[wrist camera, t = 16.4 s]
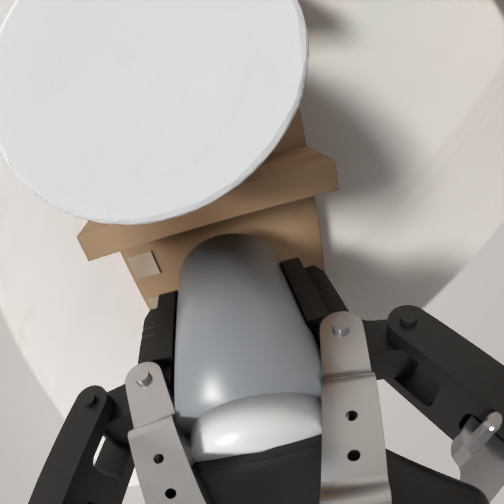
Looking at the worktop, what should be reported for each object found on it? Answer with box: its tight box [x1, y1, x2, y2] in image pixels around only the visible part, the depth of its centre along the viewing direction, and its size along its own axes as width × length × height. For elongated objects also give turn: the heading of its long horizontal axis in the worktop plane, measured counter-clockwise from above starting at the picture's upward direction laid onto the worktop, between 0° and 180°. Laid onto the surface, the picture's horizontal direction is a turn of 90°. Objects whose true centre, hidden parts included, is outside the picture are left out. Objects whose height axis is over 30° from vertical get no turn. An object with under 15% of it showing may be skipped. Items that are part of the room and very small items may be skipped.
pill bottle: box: [0, 0, 309, 225], centre depth 6 cm, size 5×5×9 cm
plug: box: [174, 233, 324, 462], centre depth 10 cm, size 4×4×8 cm
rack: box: [77, 107, 339, 310], centre depth 11 cm, size 9×17×4 cm, turn 13°
